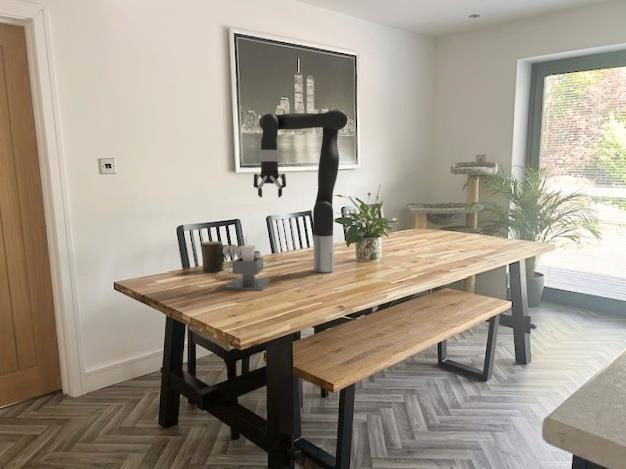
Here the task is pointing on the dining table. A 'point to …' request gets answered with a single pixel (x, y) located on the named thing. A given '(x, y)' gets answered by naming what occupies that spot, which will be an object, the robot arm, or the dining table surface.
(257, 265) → the stand
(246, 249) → the smoothie
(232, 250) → the goblet set
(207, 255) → the pillar candle
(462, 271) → the dining table surface
